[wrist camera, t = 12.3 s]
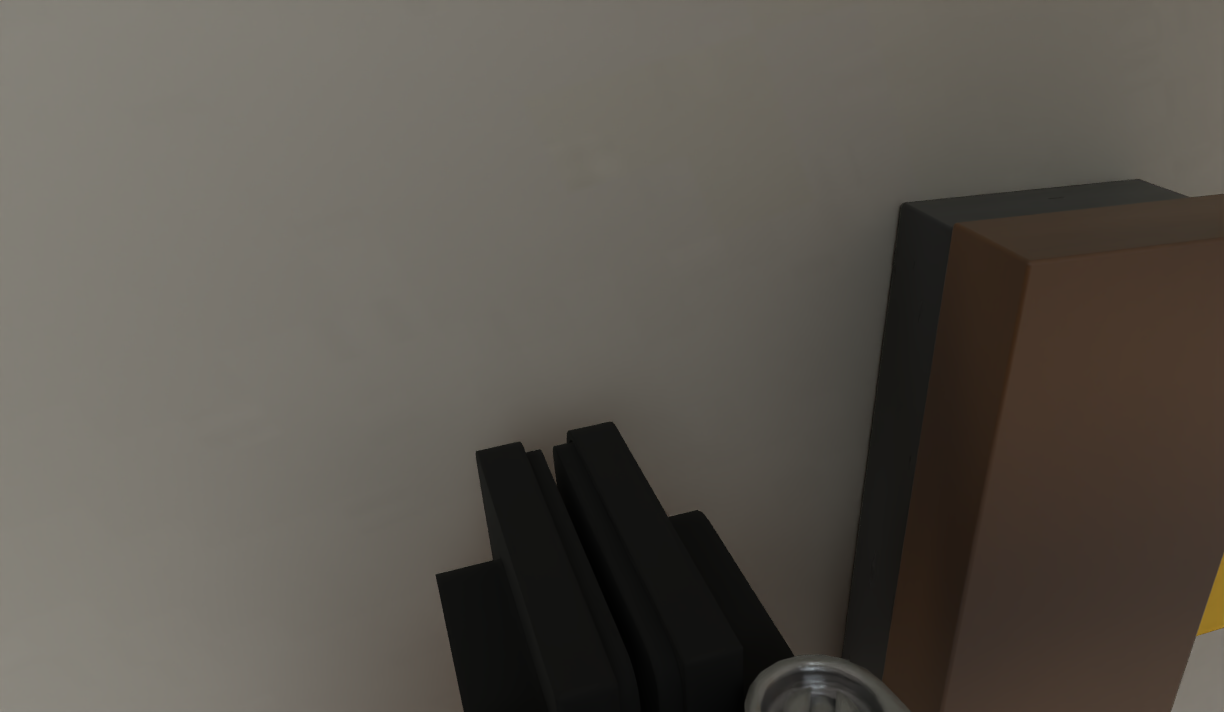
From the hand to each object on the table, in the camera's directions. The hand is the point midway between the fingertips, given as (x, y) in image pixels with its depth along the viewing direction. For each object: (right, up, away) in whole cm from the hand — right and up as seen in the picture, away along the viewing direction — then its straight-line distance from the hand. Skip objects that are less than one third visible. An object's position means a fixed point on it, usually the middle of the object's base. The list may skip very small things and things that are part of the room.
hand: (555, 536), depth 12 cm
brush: (+7, +1, +4) cm, 8 cm away
